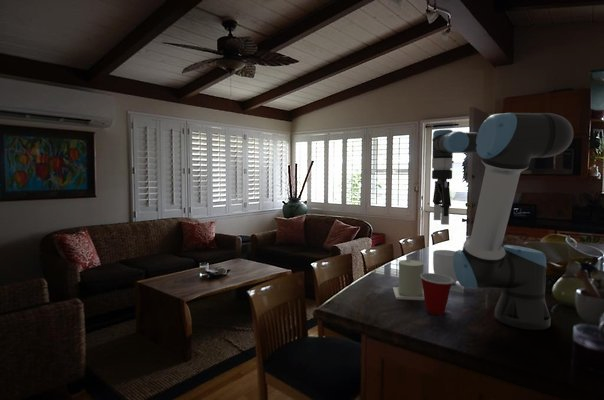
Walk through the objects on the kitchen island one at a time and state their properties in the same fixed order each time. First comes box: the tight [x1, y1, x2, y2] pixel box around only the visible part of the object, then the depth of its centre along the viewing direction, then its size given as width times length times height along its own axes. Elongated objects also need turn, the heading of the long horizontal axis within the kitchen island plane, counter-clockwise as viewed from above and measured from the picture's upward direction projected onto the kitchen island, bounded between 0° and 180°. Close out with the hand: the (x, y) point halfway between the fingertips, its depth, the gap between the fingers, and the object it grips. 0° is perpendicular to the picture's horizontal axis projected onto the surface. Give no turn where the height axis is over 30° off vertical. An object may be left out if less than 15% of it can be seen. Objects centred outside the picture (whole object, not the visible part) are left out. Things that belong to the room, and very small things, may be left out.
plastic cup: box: [420, 272, 454, 316], centre depth 124 cm, size 11×11×12 cm
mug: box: [432, 249, 458, 285], centre depth 155 cm, size 15×11×13 cm
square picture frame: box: [392, 286, 425, 301], centre depth 142 cm, size 12×12×1 cm
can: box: [398, 259, 425, 296], centre depth 141 cm, size 9×9×12 cm
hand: (440, 222), depth 149 cm, fingers open, 13 cm apart
